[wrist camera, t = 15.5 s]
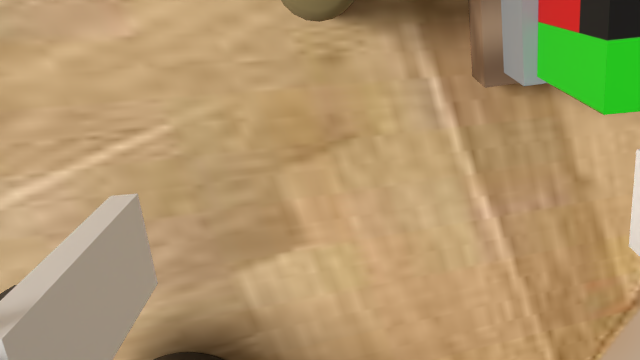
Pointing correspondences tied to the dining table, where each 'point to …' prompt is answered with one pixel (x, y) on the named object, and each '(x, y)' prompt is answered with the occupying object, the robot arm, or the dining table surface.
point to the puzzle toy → (592, 51)
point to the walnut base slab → (487, 43)
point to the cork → (317, 8)
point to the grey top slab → (520, 40)
